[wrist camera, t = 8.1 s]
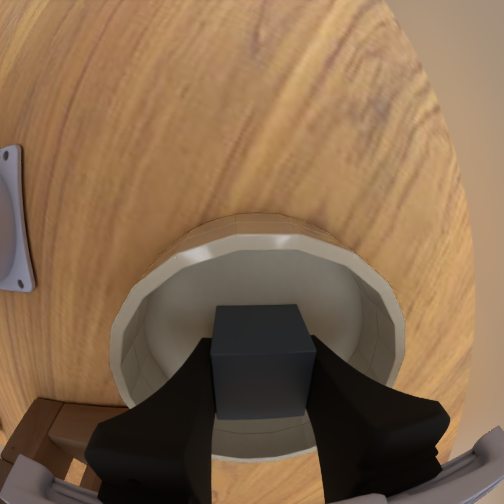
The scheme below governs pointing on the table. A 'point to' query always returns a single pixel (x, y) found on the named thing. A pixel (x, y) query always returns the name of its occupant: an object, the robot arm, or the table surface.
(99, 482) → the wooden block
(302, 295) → the bowl
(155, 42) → the table surface
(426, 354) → the table surface
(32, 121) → the table surface
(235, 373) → the cube
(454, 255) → the table surface
